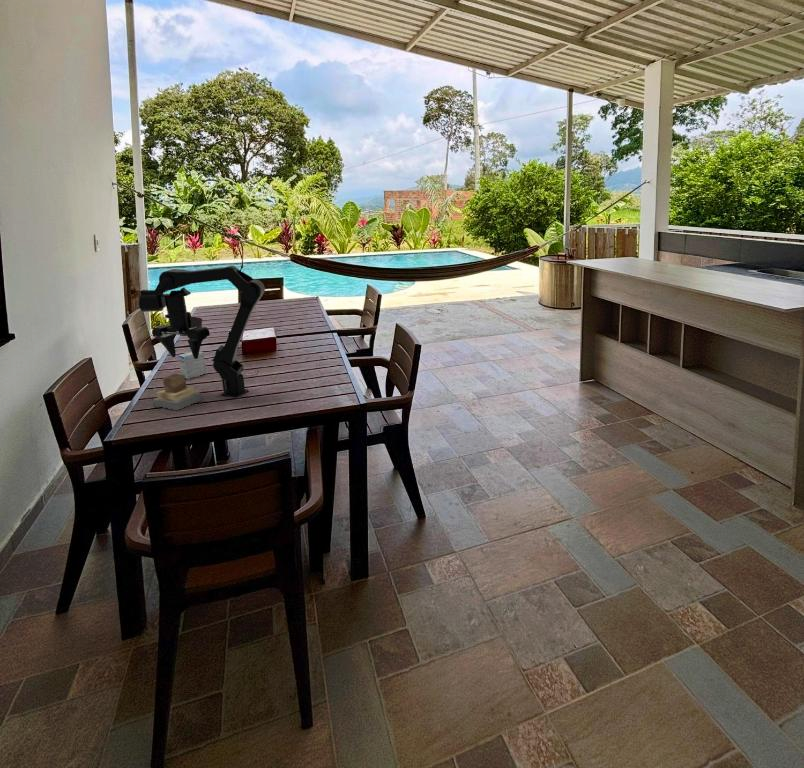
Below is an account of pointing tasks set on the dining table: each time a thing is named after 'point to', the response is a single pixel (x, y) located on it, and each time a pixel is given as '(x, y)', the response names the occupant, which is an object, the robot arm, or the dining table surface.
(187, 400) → the slate slab
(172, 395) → the oak block
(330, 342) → the dining table surface
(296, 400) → the dining table surface
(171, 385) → the walnut cube
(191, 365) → the medicine box
